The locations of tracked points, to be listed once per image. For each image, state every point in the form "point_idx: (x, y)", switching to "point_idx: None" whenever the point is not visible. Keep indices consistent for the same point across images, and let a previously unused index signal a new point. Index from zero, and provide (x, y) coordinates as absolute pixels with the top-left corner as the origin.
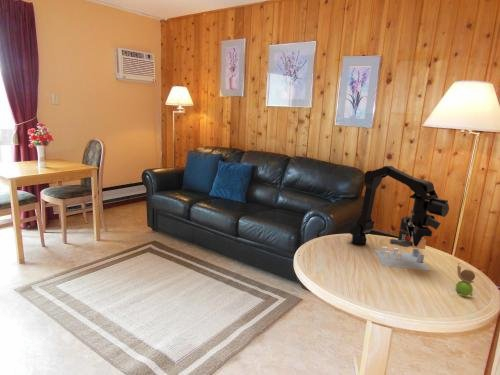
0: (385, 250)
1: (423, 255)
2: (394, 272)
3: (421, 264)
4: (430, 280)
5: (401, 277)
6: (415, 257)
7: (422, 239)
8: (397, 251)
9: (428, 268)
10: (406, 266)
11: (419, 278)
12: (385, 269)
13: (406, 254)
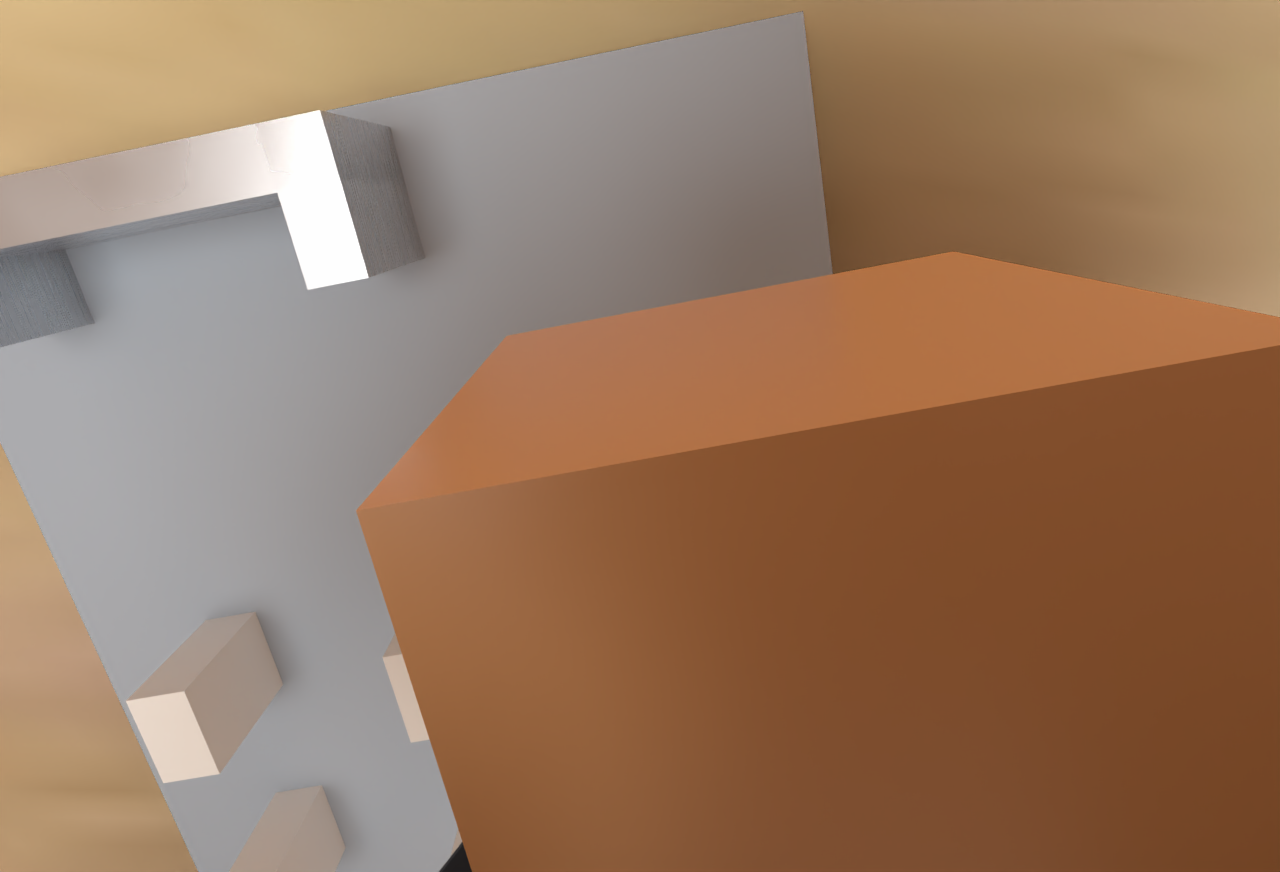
0: (305, 863)
1: (319, 132)
2: None
3: (517, 176)
4: (1155, 71)
5: None
6: (145, 263)
7: (1101, 658)
8: (220, 669)
9: (683, 39)
10: None
11: (1124, 279)
12: None
13: (91, 442)
